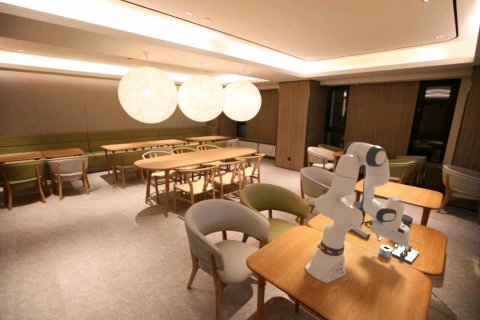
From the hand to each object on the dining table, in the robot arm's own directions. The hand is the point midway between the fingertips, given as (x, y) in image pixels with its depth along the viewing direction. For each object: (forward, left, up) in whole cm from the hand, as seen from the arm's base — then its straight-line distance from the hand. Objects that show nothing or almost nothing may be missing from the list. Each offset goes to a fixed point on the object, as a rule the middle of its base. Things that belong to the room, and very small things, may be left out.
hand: (387, 244), depth 140 cm
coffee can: (+33, +2, -7) cm, 34 cm away
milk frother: (+30, +27, -7) cm, 40 cm away
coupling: (-1, 0, -7) cm, 7 cm away
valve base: (+10, -8, -7) cm, 14 cm away
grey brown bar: (+11, +26, -8) cm, 29 cm away
